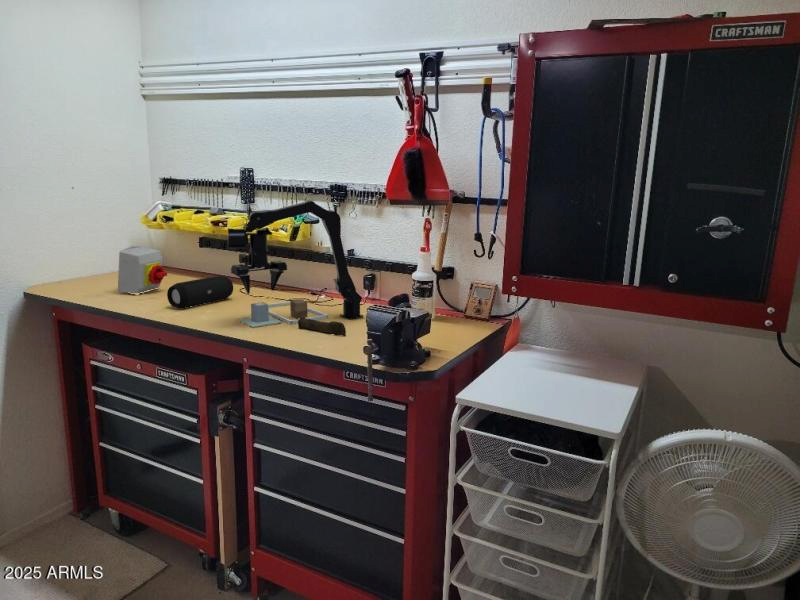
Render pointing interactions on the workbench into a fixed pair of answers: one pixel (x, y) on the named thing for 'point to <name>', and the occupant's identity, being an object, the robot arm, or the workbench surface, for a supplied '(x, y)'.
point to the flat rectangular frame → (321, 316)
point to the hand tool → (323, 326)
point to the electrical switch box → (139, 269)
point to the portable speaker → (199, 291)
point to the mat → (254, 324)
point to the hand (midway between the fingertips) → (260, 292)
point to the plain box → (298, 308)
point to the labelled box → (259, 312)
